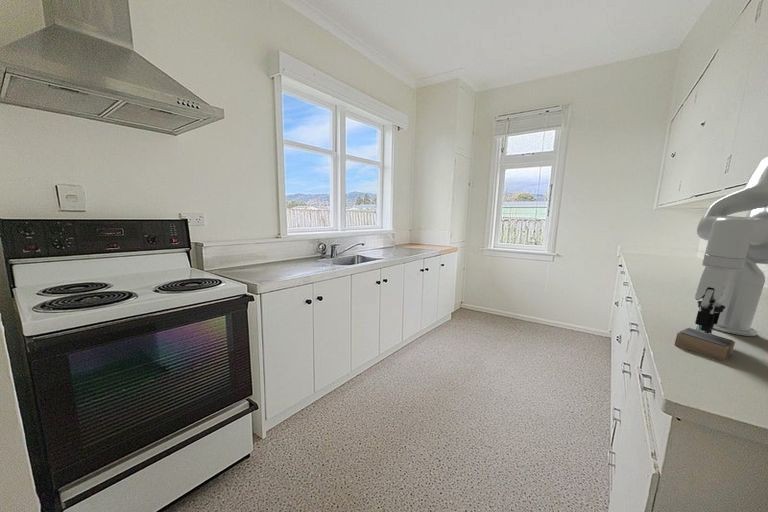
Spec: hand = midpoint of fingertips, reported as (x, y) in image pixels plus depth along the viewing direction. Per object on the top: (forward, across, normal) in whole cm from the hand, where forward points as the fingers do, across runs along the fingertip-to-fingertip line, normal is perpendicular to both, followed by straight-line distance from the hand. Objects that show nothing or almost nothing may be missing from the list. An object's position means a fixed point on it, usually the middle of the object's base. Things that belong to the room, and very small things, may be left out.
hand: (706, 323), depth 85 cm
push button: (+3, 0, 0) cm, 3 cm away
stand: (+4, +11, +2) cm, 12 cm away
